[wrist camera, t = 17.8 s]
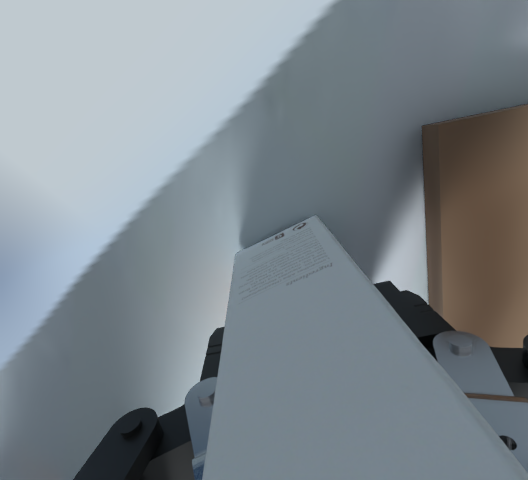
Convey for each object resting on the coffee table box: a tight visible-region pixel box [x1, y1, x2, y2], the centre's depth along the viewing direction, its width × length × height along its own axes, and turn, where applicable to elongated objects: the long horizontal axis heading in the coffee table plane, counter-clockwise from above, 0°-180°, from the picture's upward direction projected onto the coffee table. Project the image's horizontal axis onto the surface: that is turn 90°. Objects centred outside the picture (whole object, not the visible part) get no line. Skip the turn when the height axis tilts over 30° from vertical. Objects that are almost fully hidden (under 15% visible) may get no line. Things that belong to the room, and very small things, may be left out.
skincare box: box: [202, 215, 528, 480], centre depth 9 cm, size 6×4×12 cm
